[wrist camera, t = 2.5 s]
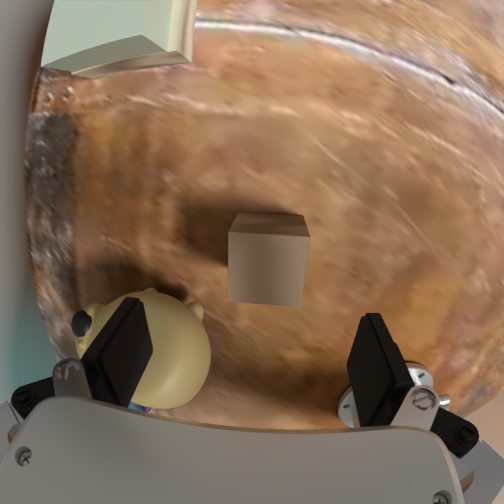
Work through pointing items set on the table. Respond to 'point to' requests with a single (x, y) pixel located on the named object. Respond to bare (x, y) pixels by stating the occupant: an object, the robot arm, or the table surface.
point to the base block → (177, 53)
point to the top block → (105, 32)
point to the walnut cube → (267, 258)
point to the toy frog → (158, 346)
